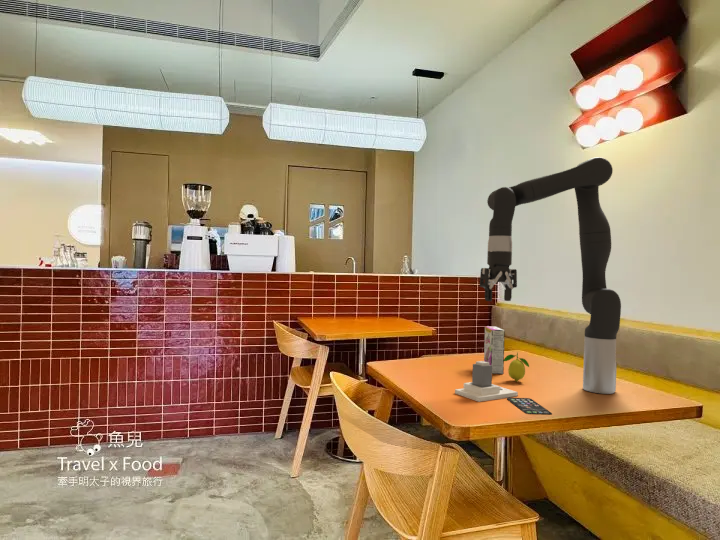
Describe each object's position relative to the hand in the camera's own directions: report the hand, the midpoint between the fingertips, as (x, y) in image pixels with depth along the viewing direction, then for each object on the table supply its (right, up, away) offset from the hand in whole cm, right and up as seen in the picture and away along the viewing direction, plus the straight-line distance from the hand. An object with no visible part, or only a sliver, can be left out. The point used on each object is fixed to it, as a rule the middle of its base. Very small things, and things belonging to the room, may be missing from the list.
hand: (498, 300), depth 152 cm
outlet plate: (-6, -28, -9) cm, 30 cm away
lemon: (+9, -29, +11) cm, 32 cm away
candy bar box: (+6, -29, +27) cm, 40 cm away
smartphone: (+3, -29, -20) cm, 35 cm away
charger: (-8, -27, -10) cm, 29 cm away
